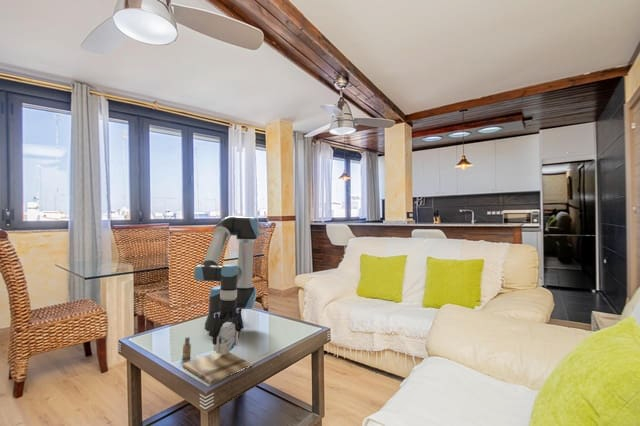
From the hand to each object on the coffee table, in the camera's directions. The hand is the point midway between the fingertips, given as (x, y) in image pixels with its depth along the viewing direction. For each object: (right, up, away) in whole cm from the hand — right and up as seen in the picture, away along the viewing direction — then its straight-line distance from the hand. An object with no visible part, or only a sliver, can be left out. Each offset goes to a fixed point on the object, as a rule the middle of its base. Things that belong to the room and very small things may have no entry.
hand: (225, 348), depth 146 cm
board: (-1, -4, -10) cm, 10 cm away
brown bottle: (-17, -3, -3) cm, 17 cm away
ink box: (0, -1, 0) cm, 1 cm away
